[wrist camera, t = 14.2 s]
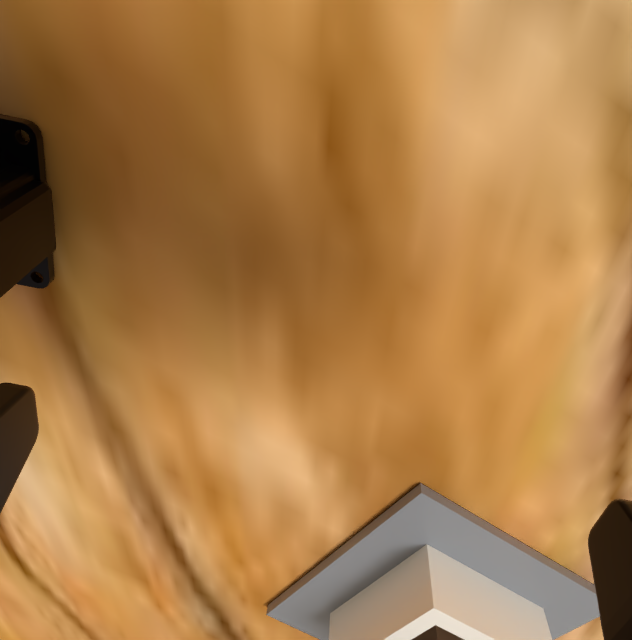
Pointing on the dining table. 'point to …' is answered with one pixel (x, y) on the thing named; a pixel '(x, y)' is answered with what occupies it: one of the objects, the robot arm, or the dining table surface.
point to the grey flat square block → (436, 581)
